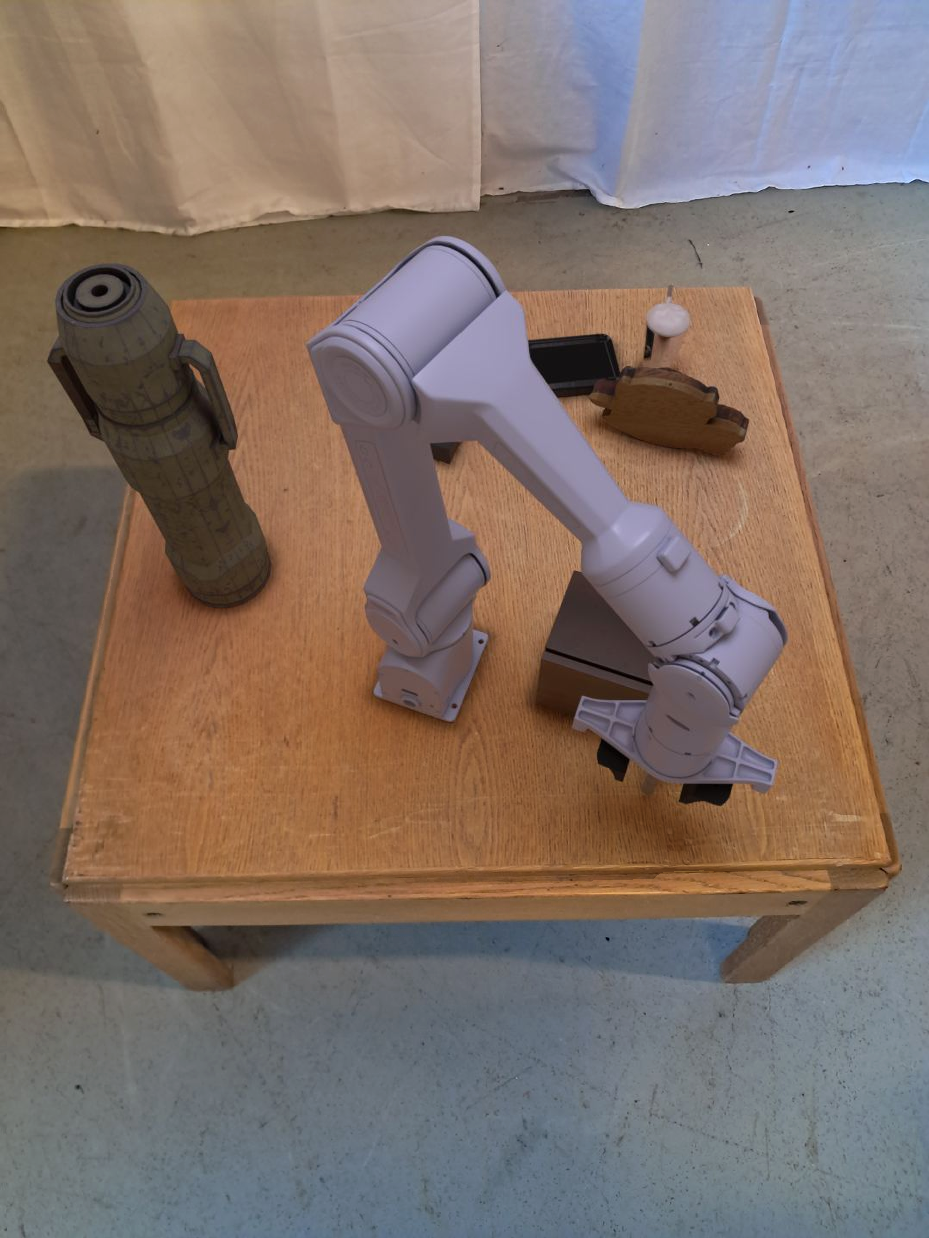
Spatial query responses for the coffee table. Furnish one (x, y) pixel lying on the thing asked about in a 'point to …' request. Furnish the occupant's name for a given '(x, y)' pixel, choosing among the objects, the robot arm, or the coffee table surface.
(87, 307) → the thermos
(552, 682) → the door
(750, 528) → the coffee table surface
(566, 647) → the cupboard
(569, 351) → the phone
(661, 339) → the milkshake
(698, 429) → the wooden carving
